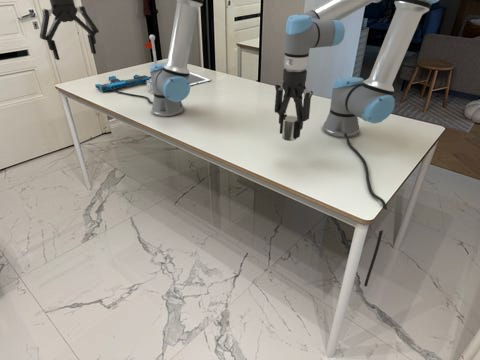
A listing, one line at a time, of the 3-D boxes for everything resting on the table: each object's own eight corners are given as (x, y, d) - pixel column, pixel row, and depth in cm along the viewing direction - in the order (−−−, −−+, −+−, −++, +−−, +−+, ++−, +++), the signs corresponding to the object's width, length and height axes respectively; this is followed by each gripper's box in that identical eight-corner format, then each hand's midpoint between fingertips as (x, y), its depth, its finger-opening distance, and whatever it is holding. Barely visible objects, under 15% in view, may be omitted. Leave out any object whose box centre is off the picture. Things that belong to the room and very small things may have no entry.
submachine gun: (140, 69, 223) (158, 75, 206) (141, 75, 225) (159, 81, 208) (87, 79, 204) (103, 87, 188) (89, 85, 206) (105, 94, 190)
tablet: (157, 75, 221) (157, 74, 221) (183, 69, 232) (183, 69, 232) (184, 87, 201) (183, 86, 200) (211, 80, 212) (211, 79, 211)
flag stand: (168, 85, 203) (161, 31, 187) (172, 92, 193) (166, 36, 177) (146, 88, 199) (137, 33, 183) (149, 95, 189) (140, 37, 173)
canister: (298, 140, 120) (300, 121, 116) (284, 141, 119) (285, 122, 115) (294, 134, 124) (296, 115, 120) (280, 135, 123) (281, 116, 119)
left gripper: (22, -6, 107) (44, 63, 118) (99, -10, 121) (112, 52, 132) (16, -7, 111) (37, 60, 123) (91, -11, 125) (103, 49, 137)
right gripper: (265, 66, 111) (262, 130, 124) (313, 77, 101) (305, 146, 114) (279, 61, 116) (275, 124, 129) (326, 71, 105) (317, 139, 118)
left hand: (76, 56), depth 128 cm, fingers open, 13 cm apart
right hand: (289, 134), depth 121 cm, fingers closed on canister, 5 cm apart
